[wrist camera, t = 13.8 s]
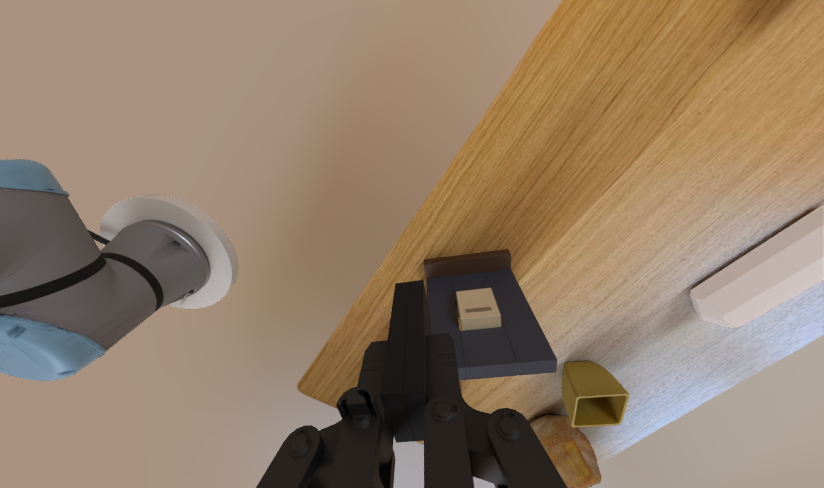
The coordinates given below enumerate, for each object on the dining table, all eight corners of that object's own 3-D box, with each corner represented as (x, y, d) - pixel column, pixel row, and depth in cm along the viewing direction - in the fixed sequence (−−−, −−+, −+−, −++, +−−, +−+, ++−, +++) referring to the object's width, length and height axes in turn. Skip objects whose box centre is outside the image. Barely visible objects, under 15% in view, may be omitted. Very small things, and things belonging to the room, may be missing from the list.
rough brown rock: (539, 468, 77) (570, 545, 64) (488, 455, 73) (509, 536, 60) (601, 417, 68) (651, 495, 55) (546, 400, 64) (586, 480, 51)
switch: (455, 290, 42) (460, 318, 37) (490, 286, 42) (500, 314, 36) (457, 302, 43) (462, 331, 38) (491, 298, 43) (501, 327, 37)
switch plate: (423, 259, 49) (423, 351, 31) (508, 249, 48) (558, 338, 30) (433, 315, 54) (438, 420, 37) (509, 306, 53) (553, 412, 35)
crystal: (722, 338, 49) (897, 240, 41) (723, 335, 45) (921, 224, 36) (680, 303, 54) (828, 208, 45) (677, 297, 49) (842, 190, 41)
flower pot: (595, 382, 61) (621, 426, 53) (552, 385, 62) (571, 428, 54) (601, 352, 57) (630, 393, 49) (555, 355, 58) (576, 397, 50)
